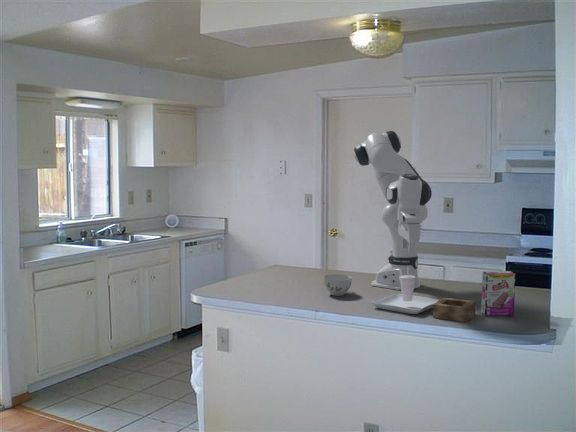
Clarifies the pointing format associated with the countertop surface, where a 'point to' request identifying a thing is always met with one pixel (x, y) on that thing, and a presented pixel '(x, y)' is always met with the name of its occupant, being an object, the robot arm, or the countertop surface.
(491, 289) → the candy bar box
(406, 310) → the salad plate
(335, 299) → the countertop surface
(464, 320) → the walnut holder
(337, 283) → the teacup
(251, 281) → the countertop surface
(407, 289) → the smoothie
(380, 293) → the countertop surface
